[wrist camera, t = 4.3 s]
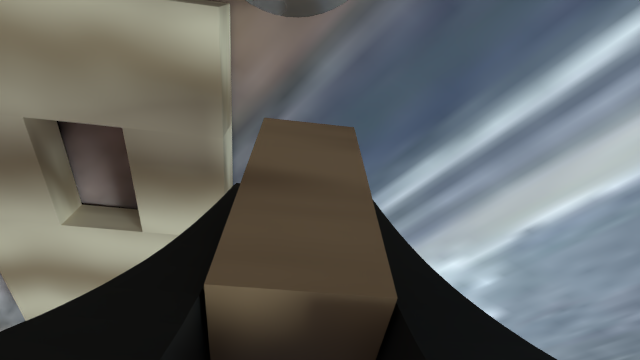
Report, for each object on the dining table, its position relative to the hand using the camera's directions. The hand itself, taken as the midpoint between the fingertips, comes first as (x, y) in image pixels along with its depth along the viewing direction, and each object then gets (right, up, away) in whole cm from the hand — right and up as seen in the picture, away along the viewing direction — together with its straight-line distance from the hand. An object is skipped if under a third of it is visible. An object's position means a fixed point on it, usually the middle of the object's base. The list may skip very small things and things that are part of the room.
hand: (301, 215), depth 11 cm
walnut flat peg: (0, +1, +2) cm, 2 cm away
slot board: (-12, 0, +10) cm, 15 cm away
